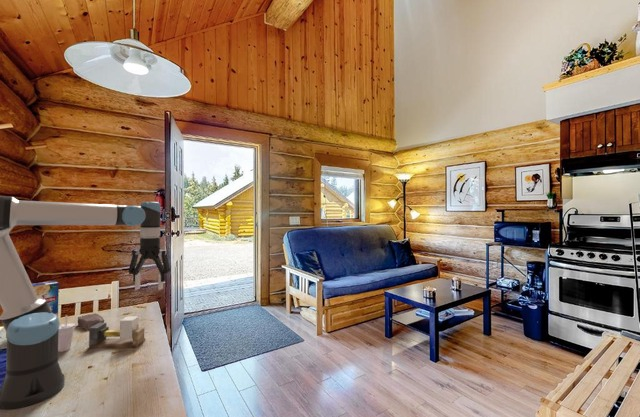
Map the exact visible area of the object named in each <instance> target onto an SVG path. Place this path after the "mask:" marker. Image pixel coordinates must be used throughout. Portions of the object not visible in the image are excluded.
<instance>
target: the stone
mask: <svg viewBox="0 0 640 417" xmlns="http://www.w3.org/2000/svg"><path fill="white" fill-rule="evenodd" d="M98 323H105V319H104V317H103V316H102V315H101V314H99V313H92V314H91V313H90V314H85V315H81V316H78V317H77V325H78V326H79V327H80V328H82V329H84V330H86V331H89V328H91V327H92V326H94V325H96V324H98Z"/></svg>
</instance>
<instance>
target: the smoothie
mask: <svg viewBox="0 0 640 417" xmlns="http://www.w3.org/2000/svg"><path fill="white" fill-rule="evenodd" d="M64 320H65V323H61V324H60V326H59V337H58V353H59V352H67V351H69V350H71V347H72V341H73V335H74V329H75V328H76V324H75V323H74V322H68V314H66V315H65V318H64Z"/></svg>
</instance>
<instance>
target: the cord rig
mask: <svg viewBox="0 0 640 417" xmlns="http://www.w3.org/2000/svg"><path fill="white" fill-rule="evenodd" d="M88 331H89V333H88V336H89V337H88V348H89V349H95V348H96V349H98V348H99V349H100V348H101V349H103V348H105V349H107V348H108V349H109V348H110V349H113V348H119V349H120V348H121V349H122V348H125V349H126V348H129V349H130V348H138V347H139V346H140V345H141V344H143V343H144V342H145V341H146V338H145V327H143V326H142V327H138V329H137V330H135V331H133V338H132V339H120V329H109V326H107V322H104V323H98V324H96V325H94V326H92V327H91V328H89V330H88ZM109 337H110V338H109ZM116 337H117V338H116Z"/></svg>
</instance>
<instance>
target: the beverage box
mask: <svg viewBox="0 0 640 417" xmlns="http://www.w3.org/2000/svg"><path fill="white" fill-rule="evenodd" d="M32 286H33V288H34V290H35V292H36V294H37V296H38V298H42V299H45V300H46V302H47V304H48V306H49V308H50V310H51V312H52V313H53V314H55V315H57V316H58V317H59V291H60V289H59V288H60V287H59V286H60V282H58V281H56V280H50V281H48V280H47V281H43V282H36V283H32Z"/></svg>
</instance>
